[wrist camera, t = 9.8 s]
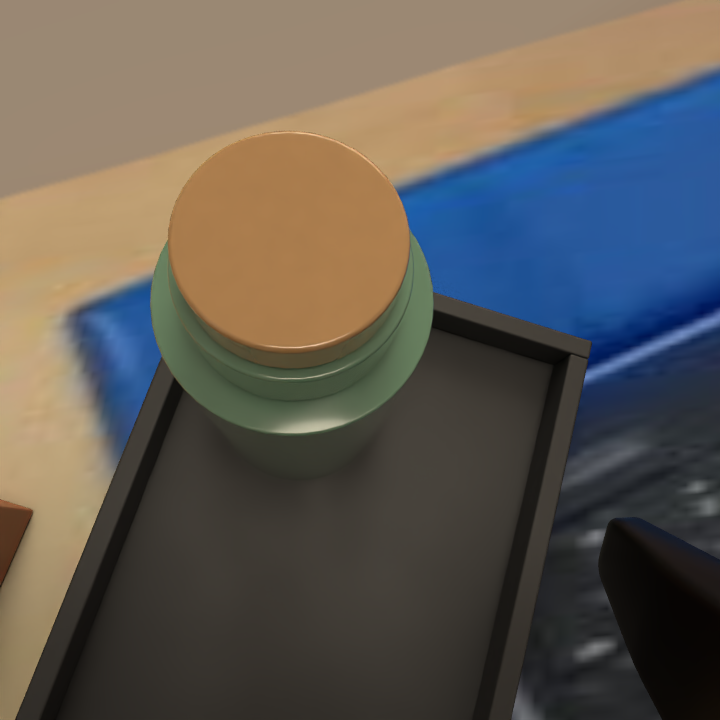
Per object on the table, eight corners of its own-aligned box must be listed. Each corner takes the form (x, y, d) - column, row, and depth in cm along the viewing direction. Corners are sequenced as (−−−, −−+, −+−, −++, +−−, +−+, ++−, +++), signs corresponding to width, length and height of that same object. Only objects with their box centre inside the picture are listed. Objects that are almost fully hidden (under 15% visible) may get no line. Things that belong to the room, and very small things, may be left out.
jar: (355, 502, 20) (411, 456, 9) (191, 451, 20) (50, 343, 9) (402, 345, 22) (499, 141, 11) (249, 297, 22) (186, 44, 11)
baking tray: (445, 907, 18) (462, 951, 16) (17, 770, 18) (-18, 797, 16) (568, 358, 22) (593, 341, 21) (222, 250, 23) (214, 223, 21)
